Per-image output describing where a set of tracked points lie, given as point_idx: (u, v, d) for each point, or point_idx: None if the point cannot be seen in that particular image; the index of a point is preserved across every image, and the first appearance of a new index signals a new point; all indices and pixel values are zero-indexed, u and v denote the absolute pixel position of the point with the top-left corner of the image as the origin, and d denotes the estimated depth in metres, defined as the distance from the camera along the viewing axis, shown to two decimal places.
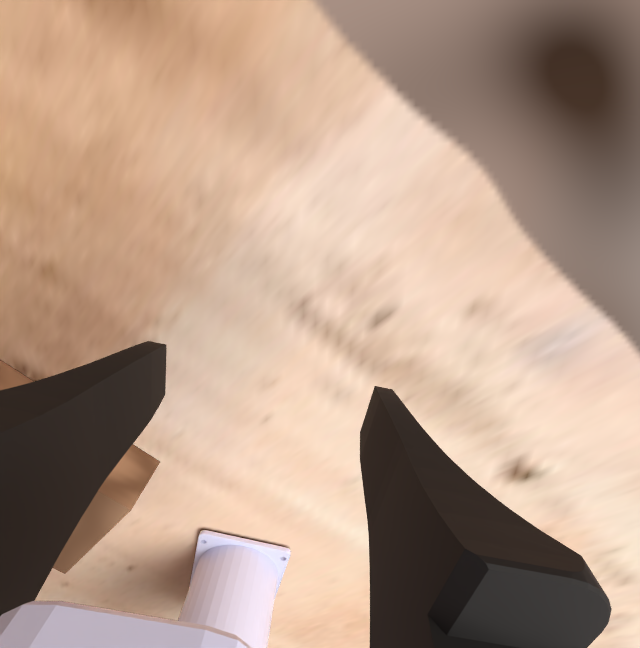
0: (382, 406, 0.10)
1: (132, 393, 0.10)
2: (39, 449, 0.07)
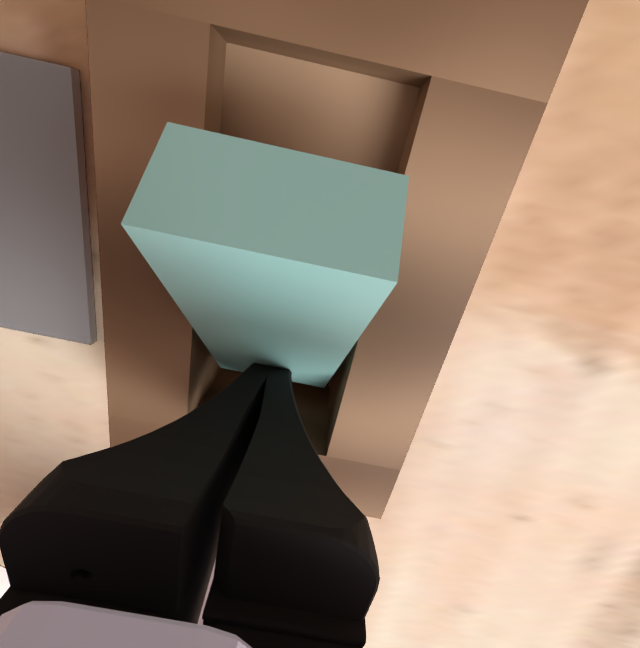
0: (265, 383, 0.10)
1: (254, 418, 0.10)
2: (220, 483, 0.07)
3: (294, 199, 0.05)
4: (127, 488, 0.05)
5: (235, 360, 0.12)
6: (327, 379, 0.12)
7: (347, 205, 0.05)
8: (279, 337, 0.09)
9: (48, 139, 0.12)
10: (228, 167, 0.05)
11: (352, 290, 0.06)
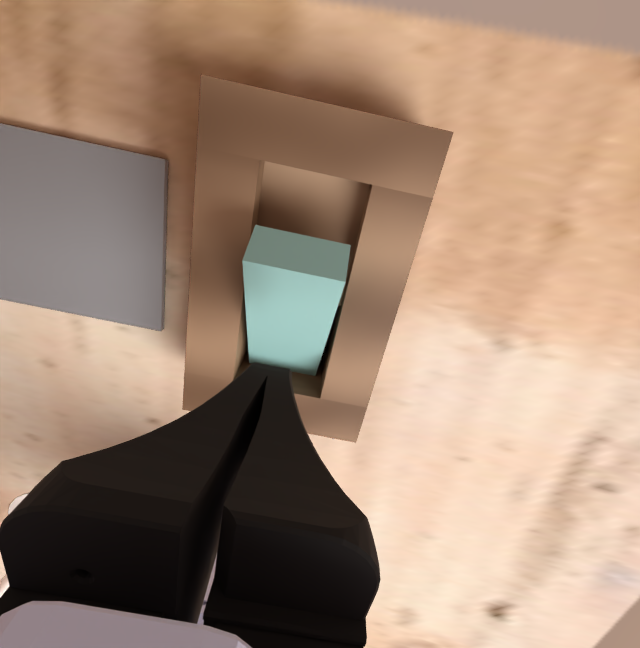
0: (265, 383, 0.10)
1: (254, 417, 0.10)
2: (220, 483, 0.07)
3: (305, 253, 0.14)
4: (127, 488, 0.05)
5: (262, 351, 0.19)
6: (317, 364, 0.20)
7: (326, 255, 0.14)
8: (293, 324, 0.17)
9: (146, 200, 0.19)
10: (280, 241, 0.14)
11: (328, 287, 0.14)
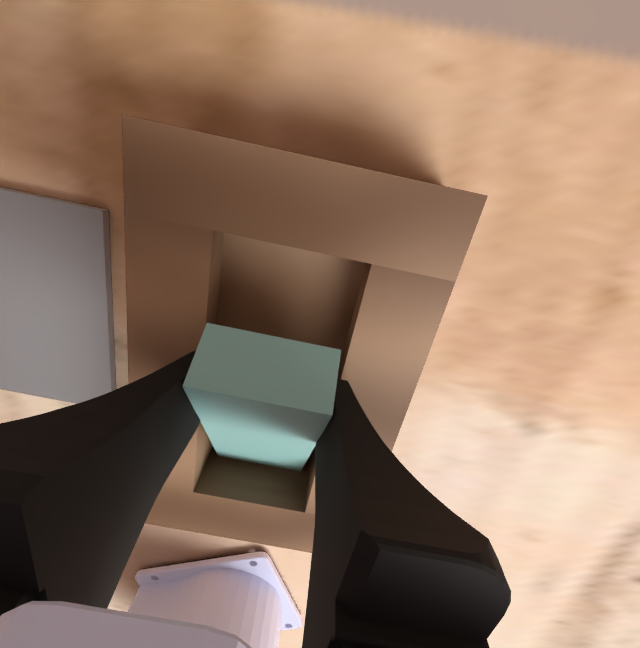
0: None
1: (185, 404, 0.10)
2: (119, 464, 0.07)
3: (276, 367, 0.10)
4: None
5: (231, 451, 0.15)
6: (302, 464, 0.16)
7: (305, 369, 0.10)
8: (266, 437, 0.12)
9: (83, 260, 0.15)
10: (240, 349, 0.10)
11: (309, 417, 0.10)
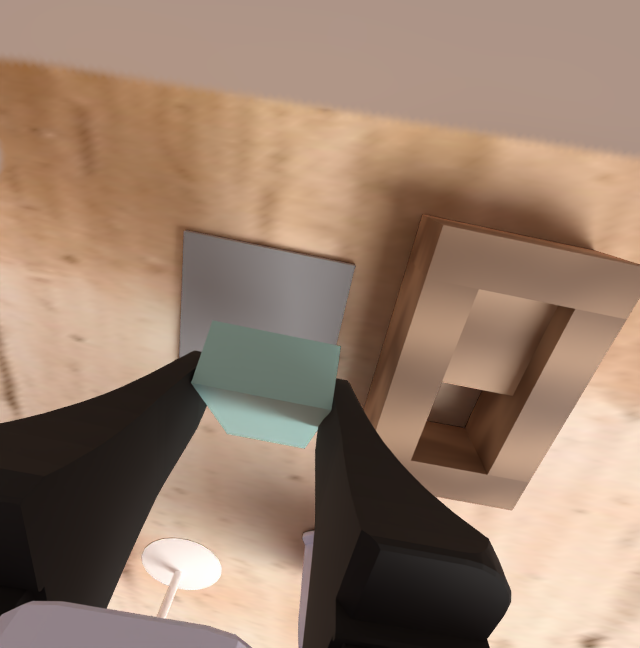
0: None
1: (185, 404, 0.10)
2: (118, 464, 0.07)
3: (279, 364, 0.10)
4: None
5: (239, 431, 0.16)
6: (305, 444, 0.17)
7: (306, 366, 0.10)
8: (271, 422, 0.13)
9: (331, 298, 0.21)
10: (244, 346, 0.10)
11: (309, 410, 0.10)
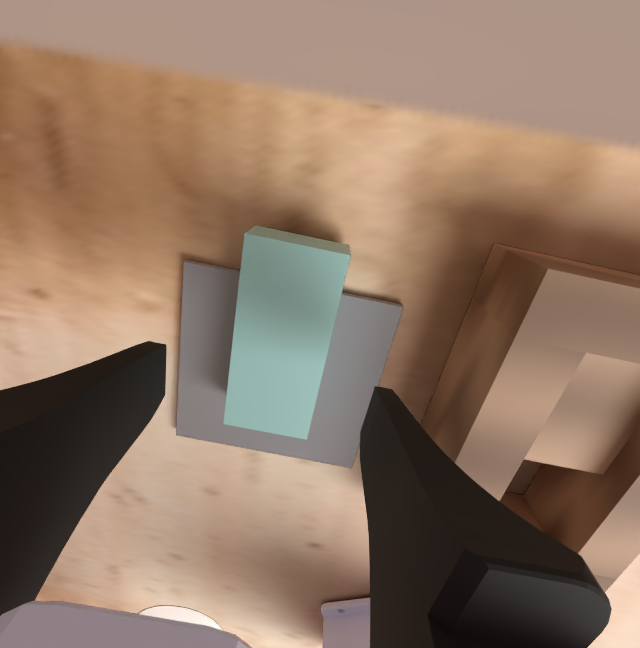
0: (382, 406, 0.10)
1: (131, 393, 0.10)
2: (39, 450, 0.07)
3: (307, 240, 0.14)
4: None
5: (243, 396, 0.16)
6: (311, 412, 0.16)
7: (327, 244, 0.14)
8: (288, 334, 0.15)
9: (370, 346, 0.17)
10: (280, 233, 0.14)
11: (332, 266, 0.13)
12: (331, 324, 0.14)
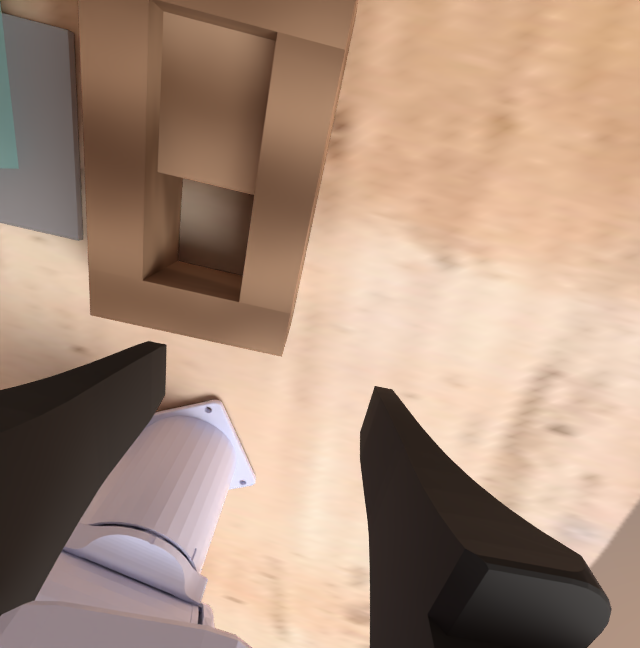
0: (382, 406, 0.10)
1: (131, 394, 0.10)
2: (39, 450, 0.07)
3: None
4: None
5: None
6: None
7: None
8: None
9: (51, 80, 0.17)
10: None
11: None
12: None
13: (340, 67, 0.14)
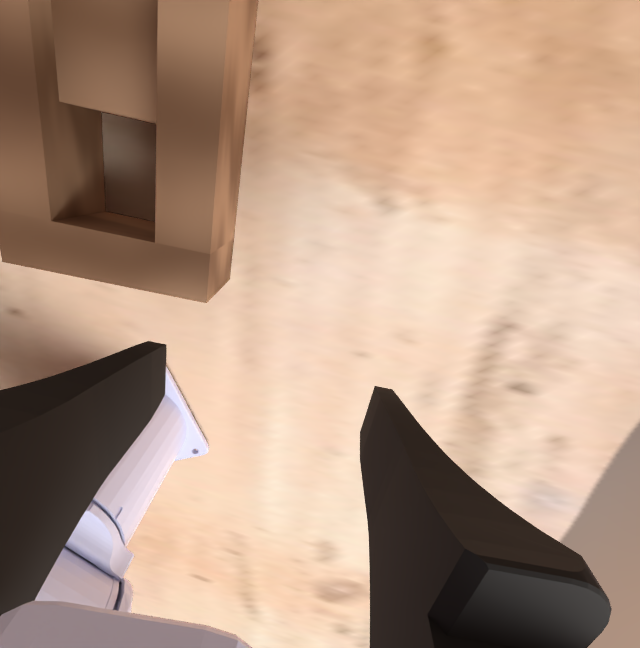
0: (382, 406, 0.10)
1: (131, 394, 0.10)
2: (39, 449, 0.07)
3: None
4: None
5: None
6: None
7: None
8: None
9: None
10: None
11: None
12: None
13: None
